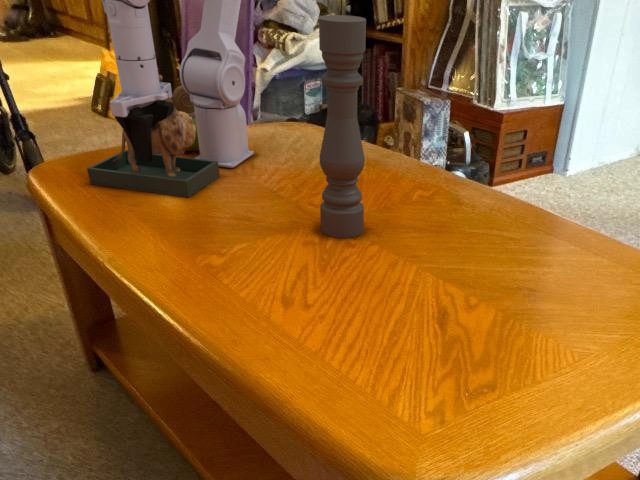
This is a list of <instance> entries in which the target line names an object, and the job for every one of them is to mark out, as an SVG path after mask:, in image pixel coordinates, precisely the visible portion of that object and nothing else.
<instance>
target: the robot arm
mask: <svg viewBox="0 0 640 480" xmlns="http://www.w3.org/2000/svg"><path fill="white" fill-rule="evenodd" d="M100 1H101V3H102V6H103V11H104V12H103V13H104V14H106V17H107V22H108V26H109V31H110V36H111V37H110V38H111V42H112V47H113V53H114V57H115V63H116V68H117V74H118V79H119V84H120V92H119V93H118V94H117V95H116V96H115V97H114V99H111V100H110V101H109V105H110V111H111V115H112V117H114V119H115V121H116V122H117V123H118V124H119V125H120V126H121V128H122V131H123V130H124V131H125V133H126V135H127V136H128V138H129V140H130V143H131V145H132V147H133V149H134V152H135V154H136V156H137V159H138V161H140V162H147V163H150V162H152V145H151V128H152V127H154V126H156V124H157V123H158V122H159V121H162V120H164V119H166V118H167V117H168V116H170V115H172V113H173V111H174V104H173V103H172V102H166V101H165V99H168V98H171V99H172V95H173V90H172V84H171V83H170V82H163V81H162V82H161V81H160V78H159V70H158V63H157V57H156V50H155V44H154V38H153V37H154V36H153V32H152V25H151V18H150V17H151V16H150V11H149V5H148V4H149V3H150V1H151V0H100ZM203 1H204V2H203V8H202V16H201V24H200V29H199V30H198V32H197V33H195V35H194V36H192V37H191V38H190V39H189V40H188V42H187V48H186V51H185V55H184V57H183V59H182V61H181V63H180V66H179V80H180V84H181V85H182V86H183V88H184V90H185V91H186V93H188V94H189V95H190V101H191V102H193V103H194V111H195V118H194V119H195V120H196V127H197V135H198V143H199V149H198V150H199V155H197V156H195V157H194V158H195V159H203V160H211V161H218V167H221V168H229V169H233V168H234V169H235V168H236V167H237V166H238V165H239V164H241V163H242V162H244V161H246V160H247V159H248V158H250V157H251V156H253V155H254V154H255V153H254V151H253V150H250V148H249V137H248V136H249V135H248V125H247V114H246V112H245V109H244V108H243V106H242V105H241V100H242V99H243V96H244V94H245V91H246V75H245V66H246V65H245V64H246V56H245V54H244V53H243V52H242V51H241V49H240V48H239V46H238V44H237V43H236V37H237V36H236V35H237V29H238V23H239V22H238V21H239V15H240V8H241V4H242V0H203Z"/></svg>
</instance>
